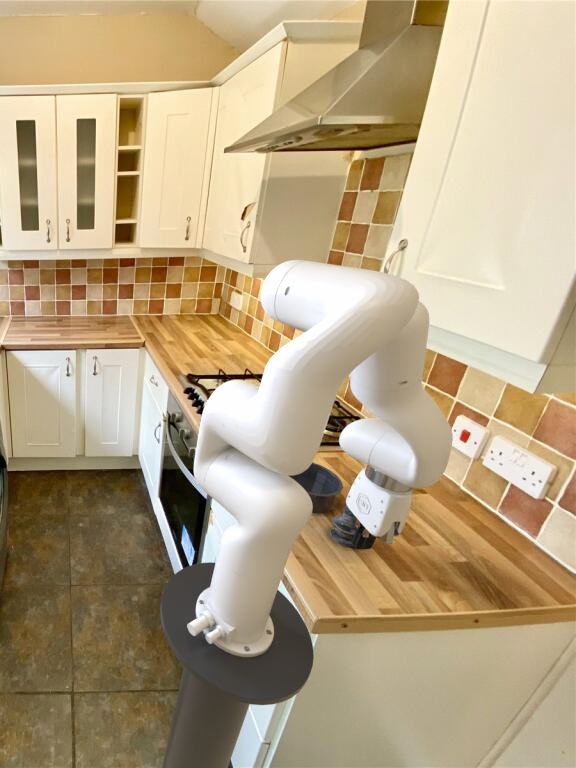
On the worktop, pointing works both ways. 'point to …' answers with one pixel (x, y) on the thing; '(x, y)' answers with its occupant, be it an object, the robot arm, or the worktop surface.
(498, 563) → the worktop surface
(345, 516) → the dark grey chess piece
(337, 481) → the dark grey bowl
